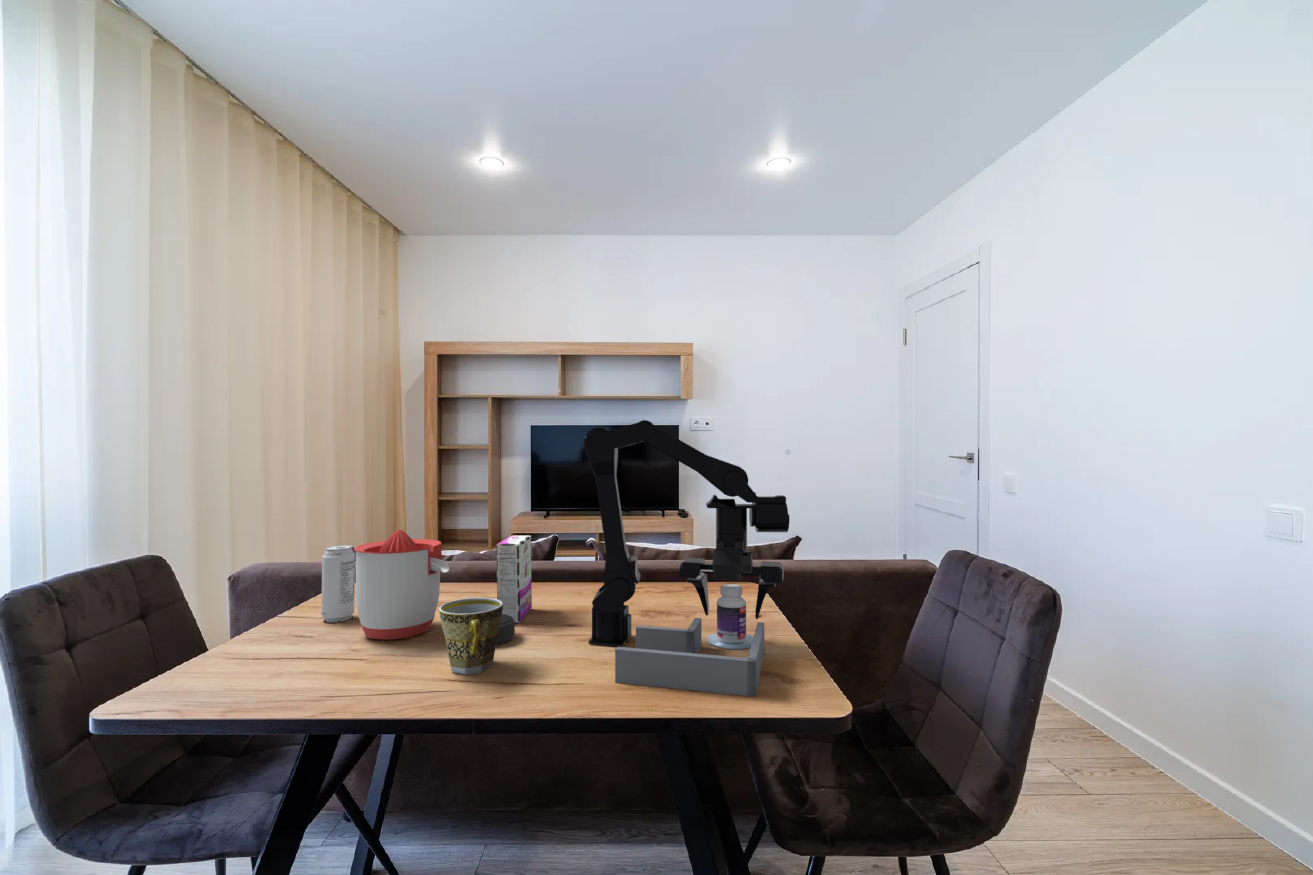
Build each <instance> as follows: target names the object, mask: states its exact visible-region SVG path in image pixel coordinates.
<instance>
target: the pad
mask: <svg viewBox="0 0 1313 875" xmlns="http://www.w3.org/2000/svg"><path fill="white" fill-rule="evenodd" d="M753 637H754V635H750V634H748V633H746V640H745V641H744V642H742V643H724V642H721V641H719V640H718V638H717V632H715V633H712V634H710V635H709V636H707V643H708V644H709V645H711V646H713V647H715V648H719V649H724V650H733V651H734V650H746V649H750V648H751V645H752V641H753Z"/></svg>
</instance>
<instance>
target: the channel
mask: <svg viewBox="0 0 1313 875" xmlns="http://www.w3.org/2000/svg"><path fill="white" fill-rule="evenodd" d="M702 619H703V618H702V617H694V618H693V620H692V622H691V623H690V624H689V626H688V628H679V627H678V628H677V627H665V626H653V625H651V626H650V625H639V624H637V626H636V627H635V647H625V646H616V648H615V649H614V660H615V661H614V662H615V663H614V665H615V666H614V675H615V676H614V677H615V680H614V683H618V684H626V685H627V684H629V685H638V686H646V687H647V686H648V687H654V688H655V687H657V688H666V689H674V690H675V689H676V690H686V691H687V690H688V691H695V692H696V691H697V692H707V693H713V694H714V693H715V694H723V695H724V694H725V695H732V696H733V695H734V696H735V695H736V696H743V697H744V696H745V697H753V698H755V697H757V692H758V687H759V682H760V676H761V672H762V667H763V661H764V656H765V651H766V648H765V644H766V642H765V641H766V640H765V622H758V621H757V622H756V627H755V630H754V633H753V641H752V645H751V648H749V649H750V650H749V654H748V657H740V656H739V657H738V656H728V655H718V654H716V655H715V654H705V653H699V652H700V650H701V648H702V641H703V640H702V638H703V637H702V635H703V633H702V631H703V630H702V628H703V627H702Z"/></svg>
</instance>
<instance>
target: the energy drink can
mask: <svg viewBox="0 0 1313 875" xmlns="http://www.w3.org/2000/svg"><path fill="white" fill-rule="evenodd" d="M352 548H353V547H352V546H351V545H334V546H333V545H332V546H328V547H325V551H324V553H323V555H322V556H321V618H322V619H324V622H325V621H326V623H339V622H338V621H341V622H345V621H348V619H349V620H350V619H352V617H353V615H354V613H355V583H356V553H355V552H354V551H353V549H352Z"/></svg>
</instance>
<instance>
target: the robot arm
mask: <svg viewBox="0 0 1313 875" xmlns="http://www.w3.org/2000/svg"><path fill="white" fill-rule="evenodd" d="M640 443H646V444H648V445H650V446H651V447H653V448H655V449H656V450H658V451H660V452H662V453H663V454H665V455H667V456H668V457H671V458H672V459H674V460H676V461H677V462H679V463H680V464H683V465H684V466H686V467H688V468H690V469H692V470H694V471H695V472H697V473H698V474H699V475H700V476H702V477H703V478H704V479H705V480H706V481H707V482H709V483H710V484H711V485H712V486H714V487H715V488H716V489H717V490H719V491H720V492H721V493H722V494H724V495H725V496H726V497H731V498H719V497H718V496H717V495H716V494H713V495H712V497H711V498H710V499H709V500H708V501H707V502H705V506H706V508H707V509H715V549H714V552H713V557H712V562H711V563H706V559H705V558H701V557H686V558H685V559H684V560H683V561H682V562H681V563H680V564H679V578H681V579H686V583H690V584H692V586H693V587H694V588H695V590H696V592H697V594H698V596H699V600H700V602H701V603H700V604H701V606H702V608H703V613H704V614H705V616H709V615H710V614H709V612H710V611H709V610H710V604H709V603H710V601H709V599H710V598H709V588H708V586H709V585H708V575H707V574H709V575H712V576H713V579H714V580H716V581H722V580H725V581H726V580H727V581H732V582H738V581H740V580H741V579H742V576H743V577H744V576H745V577H749V576H750V577H759V582H758V585H757V586H758V588H757V596H756V604H755V610H754V611H755V619H756V620H758V619H759V616H760V612H761V609H762V607H763V604H764V601H765V600H764V599H765V598H766V595H767V594H768V591H769V589H770V588H775V587H776V584H783V583H784V582H783V581H784V565H783V563H782V562H781V561H767V560H766V561H761V563H760V565H754V564H753V560H754V559H753V553H752V551H750V552H749V551H748V521H749V527H752V528H754V529H755V532H756V533H788V532H789V528H790V514H789V508H788V505H787V497H786V496H785V495H773V496H772V495H770V496H767V495H766V496H764V495H763V496H758V495H757V492H755V491H754V490H753V489H752V488H751V486H750V485H749V477H748V474H747V472H746V470H744V469H743V468H742V467H741V466H738V465H737V464H733V463H730V462H728V461H725V460H721V459H719V458H716V457H713V456H710V455H707V454H705V453H703V452H702V451H700V450H698V449H696V448H695V447H693V446H691V445H689V444H688V443H686V442H684V441H683V440H680V439H679V438H677V437H675V436H674V435H672V434H670V433H669V432H667V431H664V430H663V429H661V428H659V427H658V426H655V424H654V423H652V422H651V421H650V420H648V419H647V420H646V419H643V420H640V421H637V422H636V423H631V424H628V425H623V426H619V427H615V428H612V429H608V428H604V427H594V428H592V429H590V430H589V431H588V432H587V433H586V434H585V436H584V439H583V447H584V448H583V449H584V452H585V454H586V457H587V459H588V463H589V466H590V468H591V471H592V473H593V475H594V478H595V483H596V484H595V485H596V491H597V497H598V505H599V506H598V507H599V511H600V513H599V514H600V518H601V526H602V527H601V528H602V532H603V541H604V548H605V558H604V559H605V561H604V572H603V574H604V575H603V576H604V577H603V585H601V587H599V588H598V590H597V591H596V594H595V595H594V597H593V600H592V602H591V604H592V607H591V637H590V639H588V644H590V645H598V646H599V645H601V646H611V647H612V646H613V647H624V644H626V642H627V641H628V640H629V639H630V638H631V637H632V634H633V633H632V614H631V613H629V610H630V607H629V606H630V605H627V604H625V603H626V602H628V601H629V600H631V598H633V596H634V594H635V593H636V588H637V586H638V585H637V584H639V583H640V580H641V573H640V572H639V569H638V555H636V554H635V555H630V552H629V550H628V546H627V542H626V536H625V535H626V534H625V528H624V521H623V512H622V506H621V500H620V491H619V484H618V478H617V472H618V471H617V470H618V459H619V449H623V448H627V447H630V446H633V445H636V444H640ZM733 497H738V498H740V499H742V500H743V501H744V502H746V503H736V500H735V498H733ZM748 509H749V510H748ZM748 512H749V513H748ZM748 519H749V520H748Z"/></svg>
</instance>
